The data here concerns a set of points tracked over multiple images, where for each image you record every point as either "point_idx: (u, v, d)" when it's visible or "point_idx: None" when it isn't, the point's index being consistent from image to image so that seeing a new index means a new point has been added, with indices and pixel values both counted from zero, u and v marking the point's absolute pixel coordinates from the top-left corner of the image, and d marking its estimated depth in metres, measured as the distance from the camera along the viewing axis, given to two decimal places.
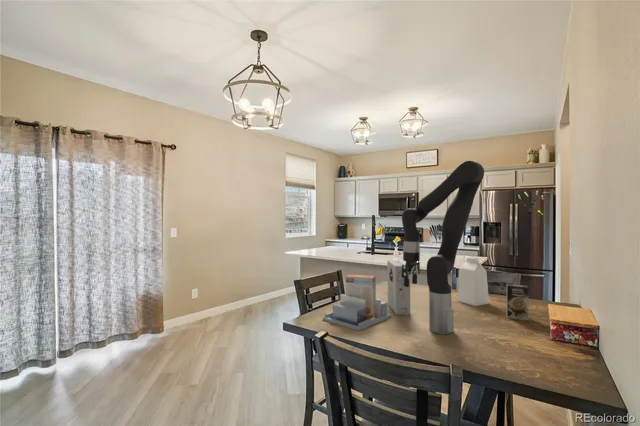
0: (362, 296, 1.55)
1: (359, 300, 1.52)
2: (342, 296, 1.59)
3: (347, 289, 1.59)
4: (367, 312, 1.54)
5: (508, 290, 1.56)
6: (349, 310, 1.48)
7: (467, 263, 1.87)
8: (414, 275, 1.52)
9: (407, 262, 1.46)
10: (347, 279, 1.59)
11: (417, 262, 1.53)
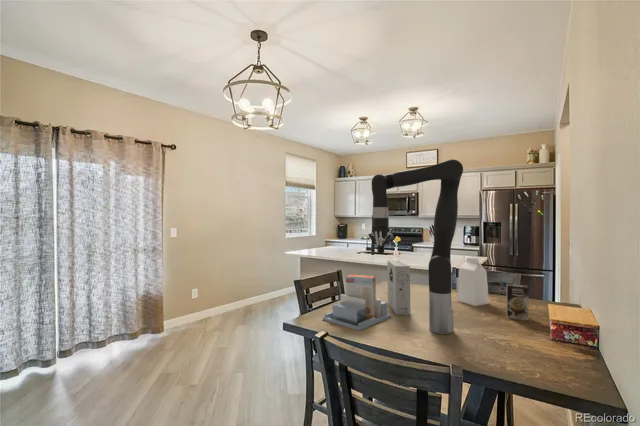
0: (362, 296, 1.55)
1: (359, 300, 1.52)
2: (342, 296, 1.59)
3: (347, 289, 1.59)
4: (367, 312, 1.54)
5: (508, 290, 1.56)
6: (349, 310, 1.48)
7: (467, 263, 1.87)
8: None
9: (387, 227, 1.47)
10: (347, 279, 1.59)
11: None
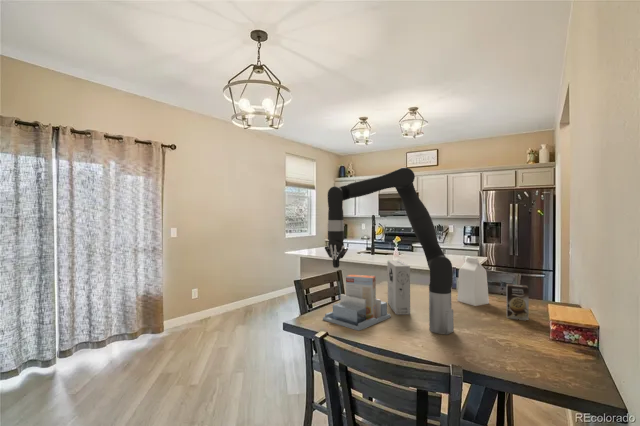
0: (362, 296, 1.55)
1: (359, 300, 1.52)
2: (342, 296, 1.59)
3: (347, 289, 1.59)
4: (367, 312, 1.54)
5: (508, 290, 1.56)
6: (349, 310, 1.48)
7: (467, 263, 1.87)
8: None
9: (342, 241, 1.44)
10: (347, 279, 1.59)
11: None
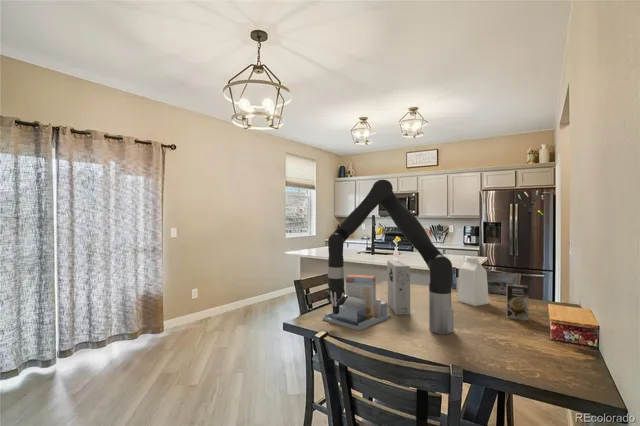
0: (362, 296, 1.55)
1: (359, 300, 1.52)
2: None
3: (347, 289, 1.59)
4: (367, 312, 1.54)
5: (508, 290, 1.56)
6: (349, 310, 1.48)
7: (467, 263, 1.87)
8: None
9: (342, 288, 1.44)
10: (347, 279, 1.59)
11: None
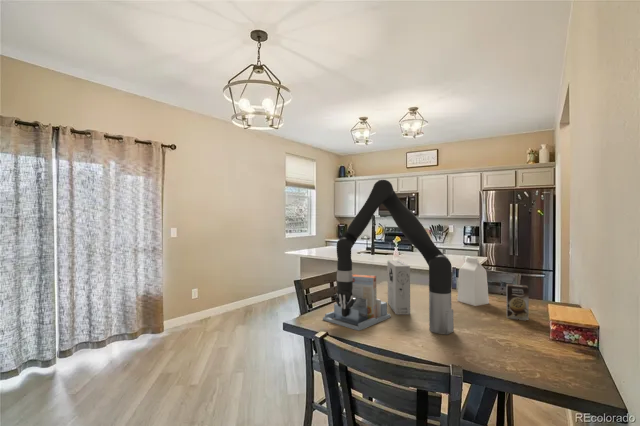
0: (363, 296, 1.56)
1: (360, 300, 1.52)
2: None
3: None
4: (368, 312, 1.55)
5: (508, 290, 1.56)
6: (350, 310, 1.49)
7: (467, 263, 1.87)
8: None
9: (350, 291, 1.48)
10: None
11: (336, 294, 1.54)
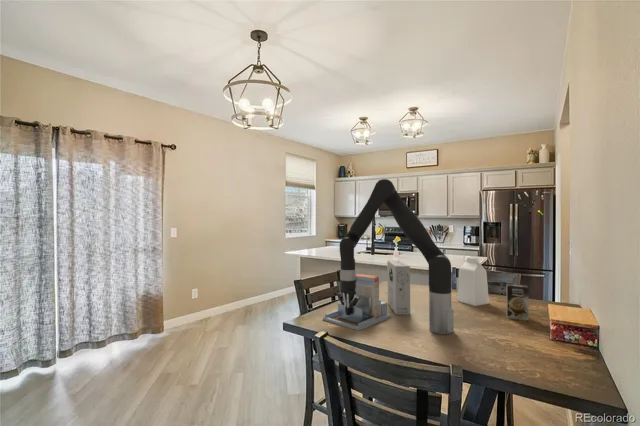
0: (364, 295, 1.56)
1: (364, 299, 1.54)
2: None
3: None
4: None
5: (508, 290, 1.56)
6: (354, 308, 1.51)
7: (467, 263, 1.87)
8: None
9: (354, 290, 1.50)
10: None
11: (340, 293, 1.56)
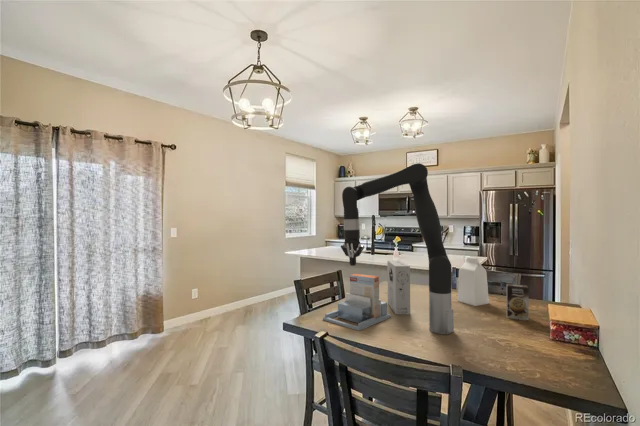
0: (364, 295, 1.56)
1: (364, 299, 1.54)
2: (347, 294, 1.62)
3: (351, 288, 1.62)
4: None
5: (508, 290, 1.56)
6: (354, 308, 1.51)
7: (467, 263, 1.87)
8: None
9: (358, 239, 1.48)
10: (351, 278, 1.62)
11: None
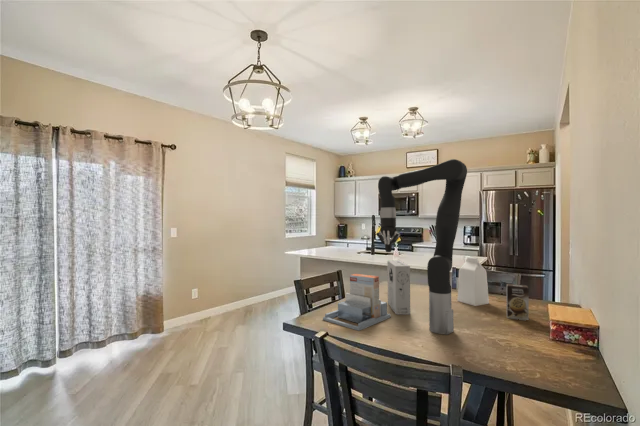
0: (364, 295, 1.56)
1: (364, 299, 1.54)
2: (347, 294, 1.62)
3: (351, 288, 1.62)
4: None
5: (508, 290, 1.56)
6: (354, 308, 1.51)
7: (467, 263, 1.87)
8: None
9: (394, 227, 1.54)
10: (351, 278, 1.62)
11: None
